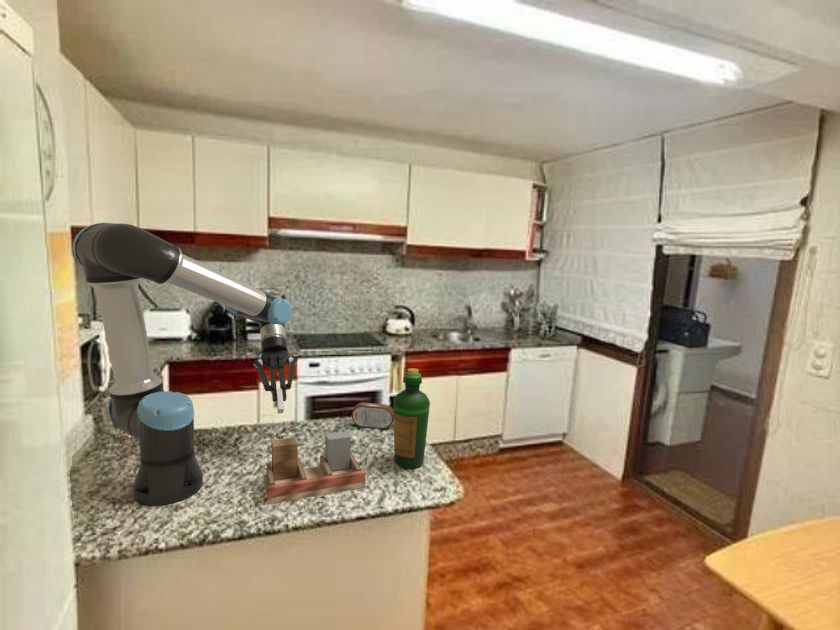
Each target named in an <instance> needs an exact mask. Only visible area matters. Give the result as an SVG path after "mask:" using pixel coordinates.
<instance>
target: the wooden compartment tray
mask: <svg viewBox="0 0 840 630" xmlns="http://www.w3.org/2000/svg"><path fill="white" fill-rule="evenodd" d="M301 460H302V459H300V458H298V461H297V476H296V477H290V478H284V479H277V480H274V477H273V472H272V463H271V462H267V463H266V464H265V465H266V467H265V468H266V471H265V472H266V473H265V474H263V485H264V489H265V494H266V500H267V505H272V504H279V503H284V502H290V501H296V500H301V499H307V498H311V497H318V496H323V495H328V494H335V493H340V492H341V493H342V492H345V491H350V490H351V491H352V490H358V489H363V488H366V472H365V470H364V469H362V467H361V466H360V464H359V463H358V461H357V459H356V457H355V456H354V455H353V452H351V451H350V468H347V469H341V470H335V471H331V470H330V467H329V465H328V463H327V461H326V459H325V454H323V455H320V456H319V466H318V465H317V466H313V467H308V468H307V467H306V468H304V466H303V464H302V461H301Z"/></svg>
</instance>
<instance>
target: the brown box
mask: <svg viewBox="0 0 840 630" xmlns="http://www.w3.org/2000/svg"><path fill="white" fill-rule="evenodd" d="M298 444H299V443H298V441H297V438H296V437H290V438H289V437H288V438H281V439H280V438H279V439H272V440H271V468H272V472H273V477H274V480H277V479H284V478H290V477H296V476H297V461H298V459H299V458H298V450H299V447H298Z"/></svg>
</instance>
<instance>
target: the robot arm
mask: <svg viewBox="0 0 840 630" xmlns="http://www.w3.org/2000/svg"><path fill="white" fill-rule="evenodd" d="M72 252H73V256H74V257H75V259H76V261H77V262H78V263H79V264H80V266H82V267H83V271H84V272H83V273H84V277H85V281H86V284H87V285H89V286H90V287H92V288H93V289H95V291H96V297H97V301H98V306H99V311H100V315H101V321H102V326H103V329H104V334H105V339H106V340H105V341H106V345H107V350H108V355H109V359H110V363H111V369H112V375H113V378H114V383H113V384H112V385H111V387H110V388H109V395H110V398H109V400H108V402H107V409H106V410H107V415H108V418H109V420H110V421H111V423H112V424H113V425H114V426H115V427H116V428H118V430H120V431H122V432H124V433H126V434H128V435H130V436H131V437H132V438H134V439H136V440H137V441H138V443H139V456H140V457H139V459H140V465H139V468H138V471H137V474H136V477H135V480H134V482H133V487H132V494H133V499H134V501H136V502H137V503H139V504H141V505H147V506H160V505H169V504H172V503H177V502H180V501H182V500H186V499H187V498H190V497H192V496H193V495H195V494H196V493H197V492H198V491H200V490H201V488H202V487H203V484H204V479H203V476H204V475H203V471H202V469H201V467H200V464H199V462H198V459H197V458H196V455H195V420H194V419H195V418H194V417H195V409H194V404H193V400H192V398H190V396H188V395H187V394H185V393H182V392H178V391H175V392H173V391H170V390H169V391H168V390H167V391H166V390H164V384H163V379H162V377H159V376H158V375H156V374H155V373H154V371H155V370H154V366H153V361H152V357H151V350H150V345H149V340H148V334H147V329H146V327H147V326H146V324H145V322H146V321H145V318H144V311H143V306H142V302H141V294H140V289H139V284H140V282H141V281H143V280H148V281H151V282H154V283H155V284H159V285H164V284H167V283H168V284H170V285H173V286H176V287H178V288H181V289H183V290H185V291H188V292H190V293H194V294H196V295H198V296H201V297H203V298H205V299H208V300H210V301H214V302H216V303H218V304H221V305H223V306H224V308H225V310H226V311H228V312H230V313H232V314H233V315H236V316H239V317H242V318H244V319H246V320H250V321H252V323H253V322H254V323H256V324H258V325H259V331H260V332H259V333H260V343H261V344H260V345H261V356H260V358H259V359H255V360H253V367H254V369H255V370H256V371H257V373H258V376H259V379H260V381H261V383H262V385H263V389H264V390H265V392H270V393H271V399H272V402H273V403H276V409H277V414H283V413H284V411H285V406H284V402H286V400H287V399H288V398H287V390H291V389H292V384H293V380H294V379H293V378H294V371H295V367H296V365H297V364H298V358H297V357H291V355H290V353H289V352H288V343H287V340H286V339H287V336H286V335H287V334H286V329H285V324H286V323H288V322H289V320H290V319H291V317H292V314H293V306H292V304H291V303H290V302H289V301H288V300H287V299H284V298H281V297H276V296H273V295H271V294H269V293H267V292H264V291H263V290H260V289H259V288H257V287H254V286H252V285H249V284H247V283H245V282H244V281H241V280H239V279H237V278H235V277H232V276H230V275H228V274H226V273H224V272H221V271H219V270H218V269H215V268H213V267H211V266H210V265H207V264H205V263H202V262H200V261H198V260H197V259H194V258H192V257H189V256H187V255H186V254H184V253H182V251H181V248H180V247H178V246H176V245H174V244H172V243H171V242H168V241H166V240H165V239H162V238H160V237H159V236H157V235H154V234H153V233H151V232H150V231H147V230H145V229H143V228H141V227H138V226H135V225H133V224H130V223H121V222H120V223H112V222H98V223H97V222H96V223H94V224H90V225H88V226H85V227H84V228H82V229H81V230H80V231H79V232H78V233H77V234H76V235H75V237H74V239H73V243H72ZM288 362H289V363H288ZM287 363H288V364H289V370H288V378H287V382H286V379H285V378H286V377H285V371H284V370H285V369H284V367H285V366H286V364H287ZM263 364H264V365H265V367H267V368H268V369H269V371H268V372H269V378H270V379H268V377H267V375H266V372H265V369H264V367H263ZM276 370H278V379H279V387H280V388H277V379H276ZM269 380H270V383H269Z"/></svg>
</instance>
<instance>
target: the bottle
mask: <svg viewBox="0 0 840 630" xmlns="http://www.w3.org/2000/svg"><path fill="white" fill-rule="evenodd" d="M419 371H420V369H418V368H413V367H411V368H407V372H405V373H404V375H403V379H402V382H403V384H404V389H403V390H402V391H400V392H399V393H397V394H396V395H395V397H394V398H393V410H394V422H393V446H394V449H393V450H394V452H393V455H394V456H393V457H394V464H396V465H397V466H398V467H400V468H403V469H415V468H418V467H421V466H422V465H423V463H424V460H425V450H426V443H427V442H426V441H427V433H428V424H429V416H430V405H431V400H430V399H429V397H428V395H427V394H426V393H424V392H423V391H422V390H420V387H421V384H423V380H422V374H421V373H419Z"/></svg>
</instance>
